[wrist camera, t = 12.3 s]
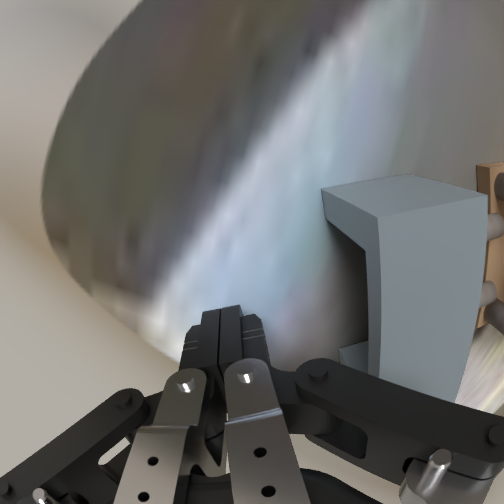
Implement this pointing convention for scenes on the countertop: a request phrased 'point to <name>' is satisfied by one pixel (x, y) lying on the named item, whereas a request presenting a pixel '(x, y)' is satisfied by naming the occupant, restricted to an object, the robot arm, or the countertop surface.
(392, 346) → the housing
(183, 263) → the countertop surface
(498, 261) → the pin seat
